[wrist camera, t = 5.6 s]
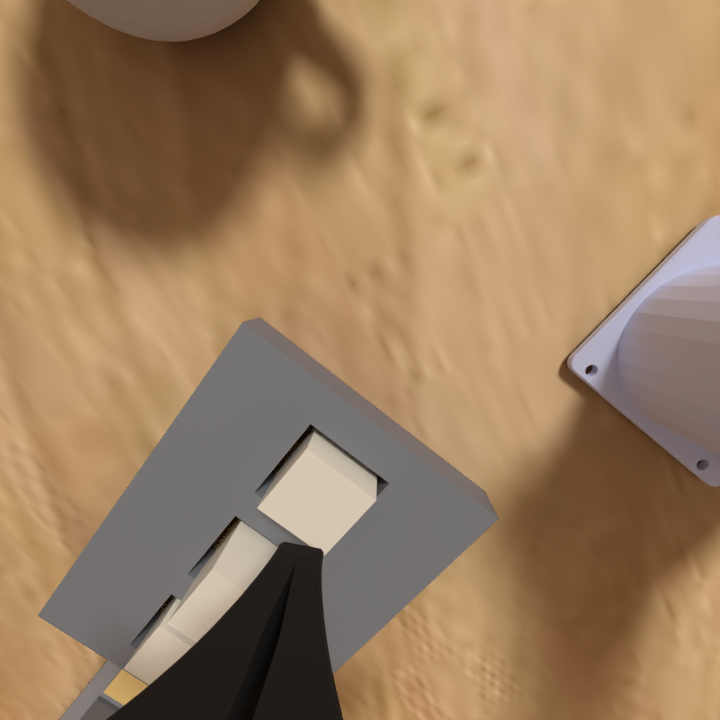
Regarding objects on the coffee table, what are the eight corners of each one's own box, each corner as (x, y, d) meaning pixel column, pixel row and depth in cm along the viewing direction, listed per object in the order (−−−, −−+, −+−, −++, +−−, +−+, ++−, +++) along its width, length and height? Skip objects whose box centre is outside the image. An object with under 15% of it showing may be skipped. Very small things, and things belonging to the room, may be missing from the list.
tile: (195, 678, 21) (188, 693, 20) (106, 775, 23) (96, 792, 23) (127, 634, 20) (117, 648, 20) (44, 738, 23) (32, 754, 22)
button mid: (300, 562, 17) (283, 619, 14) (259, 606, 17) (236, 669, 15) (241, 520, 16) (211, 570, 13) (202, 567, 17) (166, 623, 14)
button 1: (244, 610, 19) (221, 666, 16) (211, 646, 20) (183, 706, 17) (192, 574, 19) (159, 625, 16) (160, 613, 20) (123, 668, 17)
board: (485, 491, 17) (498, 518, 15) (263, 707, 21) (251, 750, 19) (260, 317, 16) (242, 322, 14) (71, 583, 20) (37, 615, 18)
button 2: (377, 464, 17) (376, 500, 14) (333, 512, 17) (324, 555, 15) (319, 420, 16) (306, 448, 14) (277, 471, 17) (257, 508, 14)
